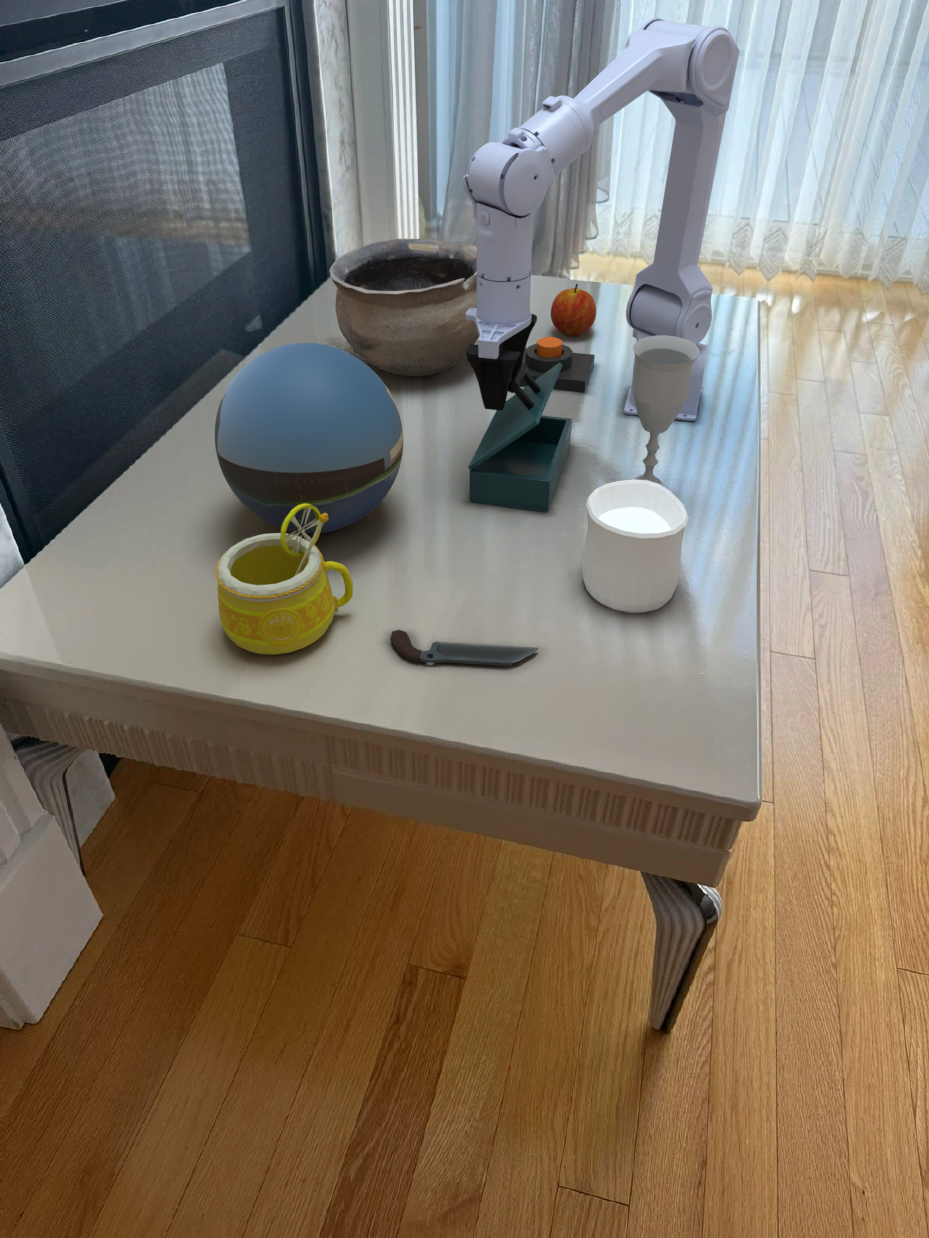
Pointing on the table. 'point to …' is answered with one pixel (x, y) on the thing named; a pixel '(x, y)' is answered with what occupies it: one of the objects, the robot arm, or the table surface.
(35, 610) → the table surface
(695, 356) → the chalice
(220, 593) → the mug
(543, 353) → the switch button
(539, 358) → the switch base
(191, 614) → the table surface
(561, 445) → the open box
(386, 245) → the ceramic bowl
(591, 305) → the fruit
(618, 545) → the cup
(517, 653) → the knife
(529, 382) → the teal panel with handle
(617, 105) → the robot arm
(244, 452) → the decorative sphere
